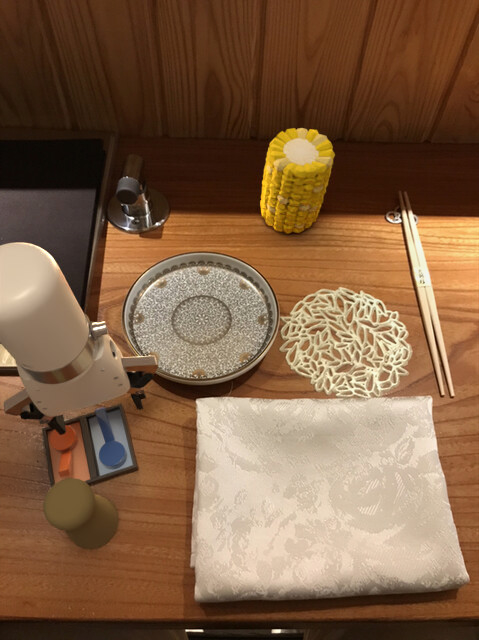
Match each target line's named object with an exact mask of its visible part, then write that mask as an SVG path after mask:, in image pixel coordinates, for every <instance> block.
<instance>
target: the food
mask: <svg viewBox="0 0 479 640" xmlns="http://www.w3.org/2000/svg"><path fill="white" fill-rule="evenodd" d="M333 148H334V147H333V144H332V142H331V141H330V140H329V139H328V137H327V135H325V134H320V133H319V131H318V129H311V128H310V129H309V130H308V129H307V128H303V127H300V128H297V129H296V128H295V127H293V128H287V129H286V130H285V131H283V130H281V131H280V132H279V133H278V134H276V136H275V137H274V138H273V139H272V140H271V141H270V142H269V146H268V148H267V151H266V157H265V163H264V164H265V165H264V168H263V175H262V178H263V179H262V181H261V195H260V199H261V200H260V201H259V206H260V213H261V217H262V218H263V220H265V223H266V225H267V226H268V227H272V228H273V229H274V231H275V232H279V233H282V232H284V233H285V234H287V235H288V234H291V233H295V234H300V233H301V232H303V231H305V229H309V228H311V227H312V225H313V223H316V221H317V219H318V217H319V213H320V210H321V207H322V204H323V203H324V196H325V194H326V193H327V187H329V181H330V179H329V178H330V177H331V173H332V171H331V170H332V168H333V165H334V158H335V156H336V154H335V152H334V150H333Z"/></svg>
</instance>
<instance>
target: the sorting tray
mask: <svg viewBox="0 0 479 640" xmlns="http://www.w3.org/2000/svg"><path fill="white" fill-rule="evenodd" d="M105 409H106V412H107V415H108V418H109V421H110V424H111V427H112V430H113V433H114V436H115V441H118V442H120V443H121V444H122V445H123V446H124V447H125V449H126V451H127V459H126V461H125V463H124V464H123V465H122V466H121V467H119V468H117V469H109V468H107V467H105V466H104V465H103V464H102V462H101V461H100V459H99V451H100V449H101V447H102V446H103V445H104V444H105V440H104V437H103V434H102V431H101V428H100V425H99V422H98V419H97V416H96V413H95V411H92V412H89V413H86V414H82V415H80V416H77V417H73V418H70V419H66V420H64V422H65V425H66V426H70V427H71V428H72V429H73V430H74V431H75V432H76V433H77V435H78V443H77V445H76V447H75V448H74V449H73V450H72V451H71V452H72V455H73V456H72V464H71V472H70V475H67V476H64V477H60V475H59V473H58V471H59V465H60V459H61V453H59V452H57V451H56V450H55V449H54V448H53V447H52V446H51V445H50V435H51V433H52V432H53V430H54V428H50V427H49V426H48V425H47V426H45V427H42V428H41V434H42V440H43V445H44V447H43V448H44V453H45V459H46V465H47V471H48V472H47V473H48V479H49V485H50V488H51V487H52V486H53V485H54V484H55V483H57V482H59V481H61V480H63V479H68V478H75V479H80V480H82V481H84V482H86V483H87V484H88V485H89V486H90V487H91V486H93V485H97V484H100V483H103V482H105V481H109V480H113V479H115V478H118V477H120V476H121V477H122V476H124V475H126V474H130V473H133V472H136V471H138V470H139V465H138V462H137V457H136V453H135V449H134V445H133V440H132V437H131V432H130V427H129V424H128V420H127V416H126V411H125V407H124V405H123V403H122V402H120V403H117V404H115V405H114V404H113V405H111V406H109V407H105Z"/></svg>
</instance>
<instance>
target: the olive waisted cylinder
mask: <svg viewBox="0 0 479 640" xmlns="http://www.w3.org/2000/svg"><path fill="white" fill-rule="evenodd" d="M42 505H43V507H42V508H43V514H44V517H45V519H46V522H48V523H49V524H50V525H51V526H52V527H54V528H55V529H58V530H59V531H64V532H65V533H66V535H67V536H68V537H69V539H70V540H71V542H73V544H75V546H77V547H79V548H81V549H84V550H95V549H100V548H101V547H103V546H105V545H107V544H108V543H109V542H110V541H111V540H112V539H113V538H114V536H115V534H116V532H117V531H118V527H119V521H120V520H119V512H118V509H117V507H116V505H115V503H113V502H112V501H111V500H110V499H109V498H106V497H104V496H102V495H99V494H96V493H95V492H94V491H93V488H92V487H91V486H89V485H88V484H87V483H86V482H84V481H82V480H80V479H75V478H68V479H63V480H61V481H59V482H57V483H55V484H54V485H53V486H52V487H51V486H50V487H49V489H48V491H47V493H46V495H45V496H44V500H43V503H42Z"/></svg>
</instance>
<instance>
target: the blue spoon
mask: <svg viewBox="0 0 479 640" xmlns="http://www.w3.org/2000/svg"><path fill="white" fill-rule="evenodd" d="M105 408H106V407H105V406H102V407H97V408H95V410H94V412H95V413H96V416H97V419H98V422H99V425H100V428H101V431H102V434H103V437H104V440H105V444H104V445H103V446H102V447H101V449H100V451H99V459H100V461H101V462H102V464H103V465H104V466H105V467H107V468H109V469H117V468H119V467H121V466H122V465H123V464H124V463H125V461H126V459H127V451H126V449H125V447H124V446H123V445H122V444H121V443H120V442H118V441H115V436H114V433H113V430H112V427H111V424H110V421H109V418H108V415H107V412H106V409H105Z"/></svg>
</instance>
